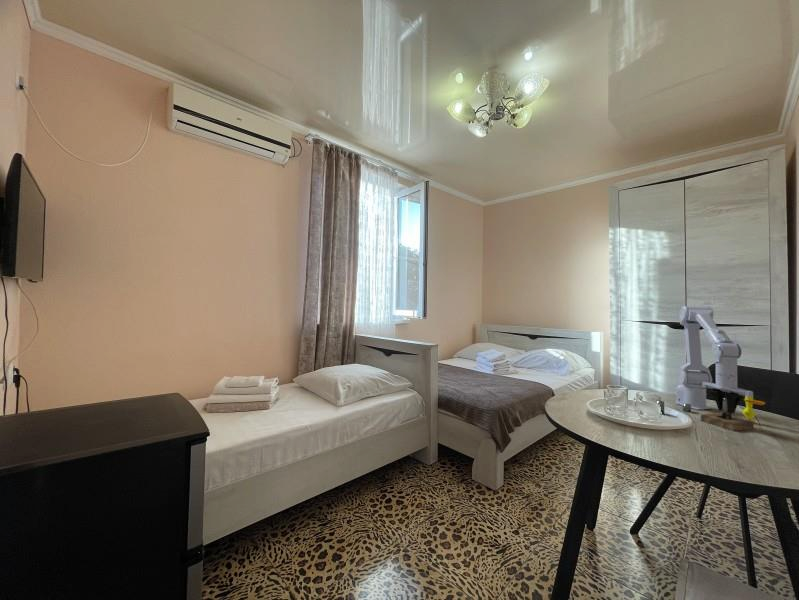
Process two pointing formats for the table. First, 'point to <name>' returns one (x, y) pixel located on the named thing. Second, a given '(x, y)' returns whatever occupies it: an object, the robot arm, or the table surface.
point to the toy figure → (750, 408)
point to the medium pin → (661, 405)
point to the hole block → (727, 421)
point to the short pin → (686, 407)
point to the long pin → (725, 409)
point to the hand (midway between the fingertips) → (726, 411)
